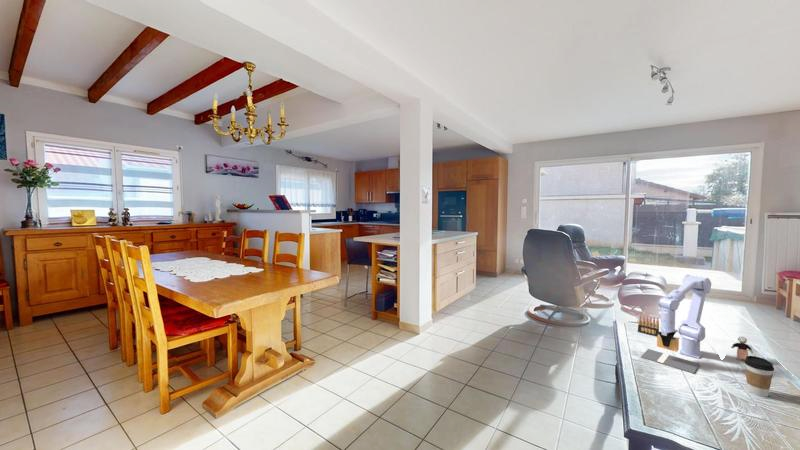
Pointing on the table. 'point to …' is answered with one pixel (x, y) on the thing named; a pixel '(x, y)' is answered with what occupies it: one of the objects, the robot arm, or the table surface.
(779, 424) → the table surface
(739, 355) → the grandmother figurine
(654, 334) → the ammunition clip
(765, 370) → the coffee cup
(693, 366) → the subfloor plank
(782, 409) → the table surface
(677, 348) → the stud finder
